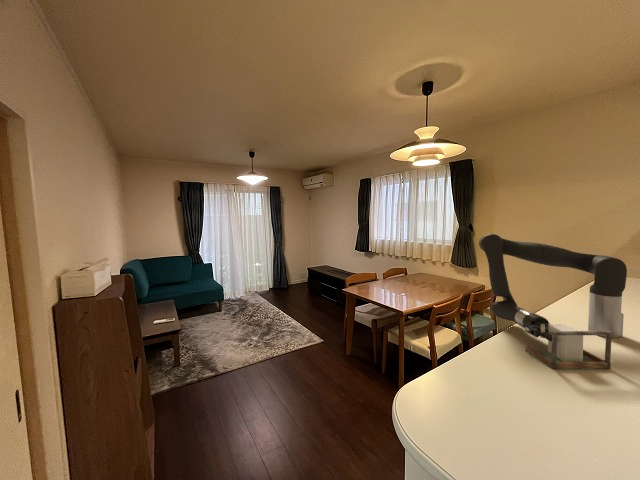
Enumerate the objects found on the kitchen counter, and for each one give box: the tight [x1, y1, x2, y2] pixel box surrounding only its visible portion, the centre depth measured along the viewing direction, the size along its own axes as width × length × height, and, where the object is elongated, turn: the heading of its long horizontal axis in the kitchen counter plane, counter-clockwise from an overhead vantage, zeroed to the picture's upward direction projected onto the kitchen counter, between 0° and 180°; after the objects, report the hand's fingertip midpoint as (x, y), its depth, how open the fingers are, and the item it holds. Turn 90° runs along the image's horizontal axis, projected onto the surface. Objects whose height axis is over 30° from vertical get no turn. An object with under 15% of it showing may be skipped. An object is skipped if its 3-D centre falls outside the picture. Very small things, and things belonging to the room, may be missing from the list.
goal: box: [525, 330, 613, 370], centre depth 90 cm, size 18×12×12 cm, turn 87°
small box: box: [547, 323, 584, 362], centre depth 90 cm, size 8×6×10 cm
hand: (567, 339), depth 89 cm, fingers open, 8 cm apart
